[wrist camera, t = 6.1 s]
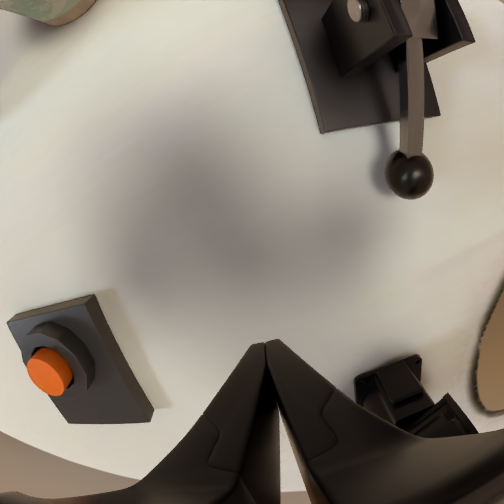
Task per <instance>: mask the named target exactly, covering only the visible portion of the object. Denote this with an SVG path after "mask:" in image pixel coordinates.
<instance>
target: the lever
mask: <svg viewBox="0 0 504 504" xmlns="http://www.w3.org/2000/svg"><path fill="white" fill-rule="evenodd" d="M398 1H399V3H400V5H401V8H402V10H403V12H404V14H405V17H406V19H407V21H408V24H409V26H410V29H411V31H412V34H413V37H411V38H409V39H408V40H406V41H405V42H403V43H402V44H400V45H399V46H397V55H398V69H399V90H400V150H397V151H395V152H394V153H393V154H392V155H391V156H390V157H389V159H388V160H387V162H386V166H385V179H386V182H387V184H388V186H389V188H390V189H391V190H392V191H393V192H394V193H395V194H396V195H398V196H399V197H401V198H404V199H417V198H420V197H422V196H423V195H425V194H426V193H427V192H428V191H429V189H430V188H431V186H432V183H433V178H434V174H433V168H432V165H431V163H430V161H429V159H428V158H427V157H426V156H425V155H424V154H423V153H422V147H423V129H424V59H423V43H422V38H426V39H438V28H437V17H436V8H435V0H398Z"/></svg>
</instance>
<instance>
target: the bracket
mask: <svg viewBox="0 0 504 504" xmlns="http://www.w3.org/2000/svg"><path fill="white" fill-rule="evenodd" d="M278 1H279V4H280V6H281V9H282V11H283V14H284V17H285V19H286V22H287V25H288V28H289V31H290V33H291V36H292V39H293V42H294V45H295V48H296V51H297V54H298V57H299V60H300V63H301V66H302V69H303V73H304V76H305V79H306V82H307V86H308V89H309V92H310V96H311V99H312V103H313V106H314V110H315V113H316V117H317V121H318V124H319V128H320V132H321V133H322V134H323V133H328V132H333V131H339V130H344V129H350V128H356V127H362V126H368V125H374V124H381V123H388V122H395V121H400V90H399V69H398V55H397V46H399V45H400V44H402V43H403V42H405V41H406V40H408V39H409V38H411V37H413V34H412V31H411V29H410V26H409V24H408V21H407V19H406V17H405V14H404V12H403V10H402V8H401V5H400V3H399V1H398V0H278ZM435 8H436V17H437V28H438V39H426V38H422V43H423V59H424V118H430V117H437V116H440V115H441V114H440V110H439V106H438V102H437V98H436V95H435V91H434V87H433V84H432V81H431V77H430V74H429V71H428V68H427V64H426V63H427V62H429V61H431V60H434V59H436V58H438V57H440V56H443V55H445V54H447V53H450V52H452V51H454V50H457V49H459V48H462V47H464V46H467V45H469V44H472V43H474V42H475V39H474V37H473V34H472V31H471V29H470V26H469V24H468V22H467V19H466V17H465V15H464V12H463V10H462V8H461V6H460V4H459V2H458V0H435Z"/></svg>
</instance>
